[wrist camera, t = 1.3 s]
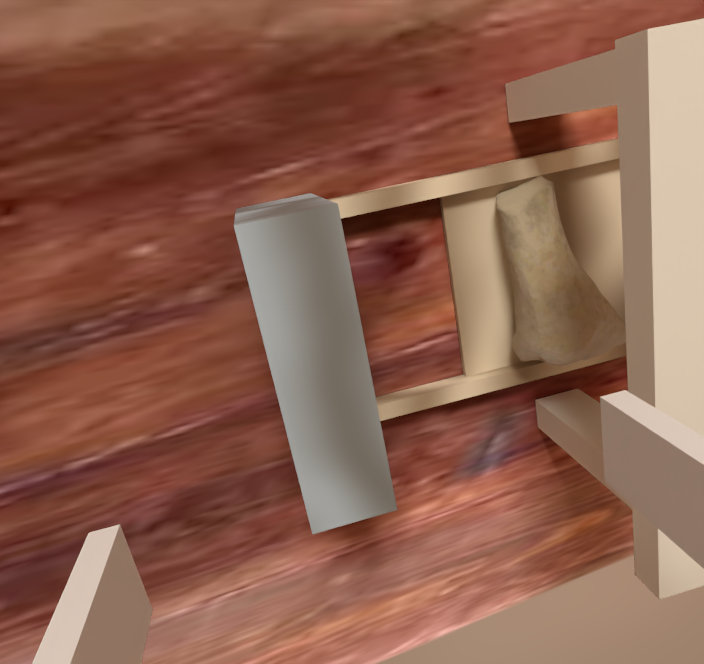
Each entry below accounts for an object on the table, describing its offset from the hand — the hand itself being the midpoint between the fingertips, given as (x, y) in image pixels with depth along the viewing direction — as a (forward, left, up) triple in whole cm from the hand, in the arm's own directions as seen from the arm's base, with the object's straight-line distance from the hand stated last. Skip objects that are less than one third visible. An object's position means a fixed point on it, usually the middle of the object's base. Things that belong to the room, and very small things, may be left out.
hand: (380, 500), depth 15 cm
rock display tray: (+9, 0, -18) cm, 20 cm away
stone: (+14, 0, -18) cm, 23 cm away
